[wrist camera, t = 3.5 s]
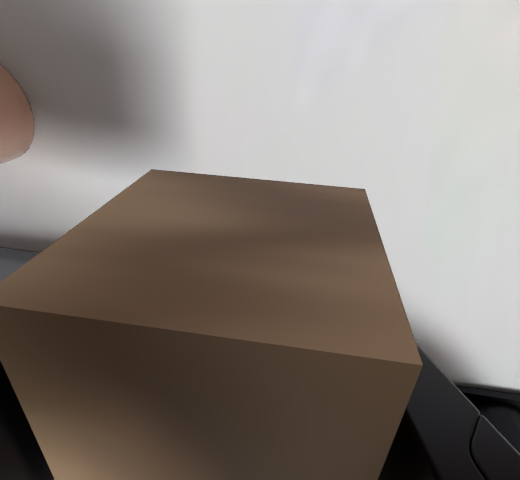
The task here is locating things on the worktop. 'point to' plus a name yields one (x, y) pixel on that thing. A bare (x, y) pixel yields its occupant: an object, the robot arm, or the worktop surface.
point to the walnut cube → (212, 335)
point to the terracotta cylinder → (14, 119)
